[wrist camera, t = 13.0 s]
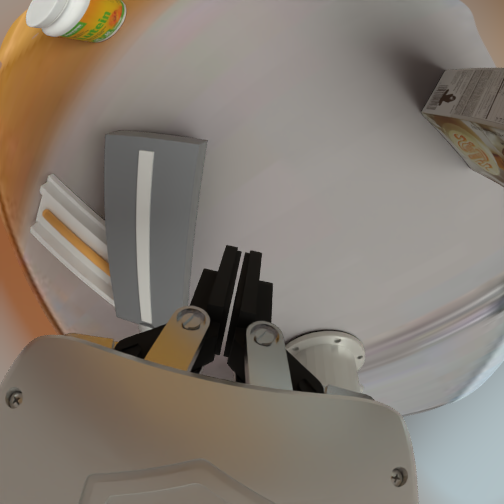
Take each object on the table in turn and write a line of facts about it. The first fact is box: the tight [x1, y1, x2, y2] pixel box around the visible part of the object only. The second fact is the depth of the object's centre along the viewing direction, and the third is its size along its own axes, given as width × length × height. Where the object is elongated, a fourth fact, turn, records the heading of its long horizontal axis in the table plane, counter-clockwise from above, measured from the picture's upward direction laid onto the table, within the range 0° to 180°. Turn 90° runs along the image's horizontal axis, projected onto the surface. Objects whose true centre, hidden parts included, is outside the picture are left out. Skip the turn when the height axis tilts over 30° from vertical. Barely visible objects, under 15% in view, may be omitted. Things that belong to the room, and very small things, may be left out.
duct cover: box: [104, 130, 208, 332], centre depth 24 cm, size 22×8×3 cm, turn 168°
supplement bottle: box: [26, 0, 126, 42], centre depth 12 cm, size 5×5×10 cm
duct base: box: [30, 174, 115, 307], centre depth 29 cm, size 22×9×2 cm, turn 48°
